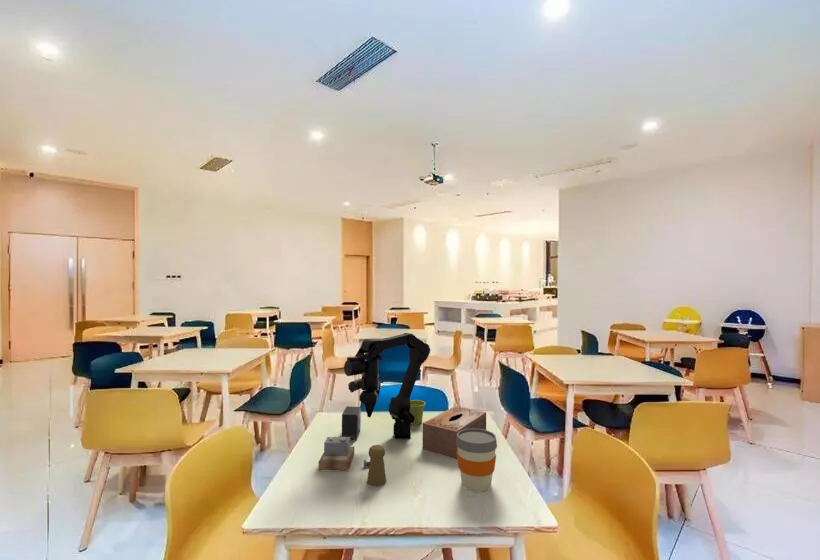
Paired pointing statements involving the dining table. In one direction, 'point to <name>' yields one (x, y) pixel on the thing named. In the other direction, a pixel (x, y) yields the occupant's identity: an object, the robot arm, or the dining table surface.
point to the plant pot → (417, 410)
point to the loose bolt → (366, 463)
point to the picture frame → (336, 462)
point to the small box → (351, 422)
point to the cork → (376, 466)
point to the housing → (337, 446)
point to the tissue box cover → (450, 429)
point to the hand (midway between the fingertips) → (370, 413)
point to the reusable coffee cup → (476, 458)
